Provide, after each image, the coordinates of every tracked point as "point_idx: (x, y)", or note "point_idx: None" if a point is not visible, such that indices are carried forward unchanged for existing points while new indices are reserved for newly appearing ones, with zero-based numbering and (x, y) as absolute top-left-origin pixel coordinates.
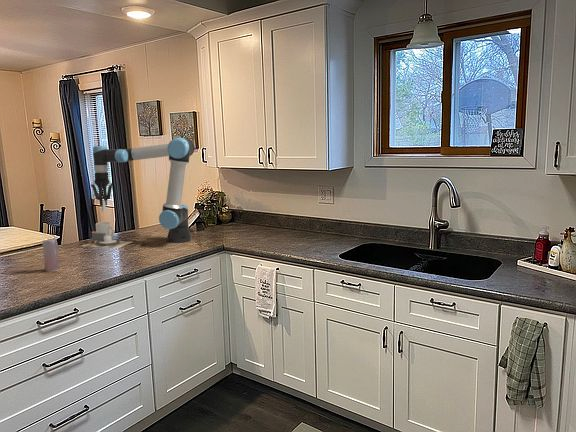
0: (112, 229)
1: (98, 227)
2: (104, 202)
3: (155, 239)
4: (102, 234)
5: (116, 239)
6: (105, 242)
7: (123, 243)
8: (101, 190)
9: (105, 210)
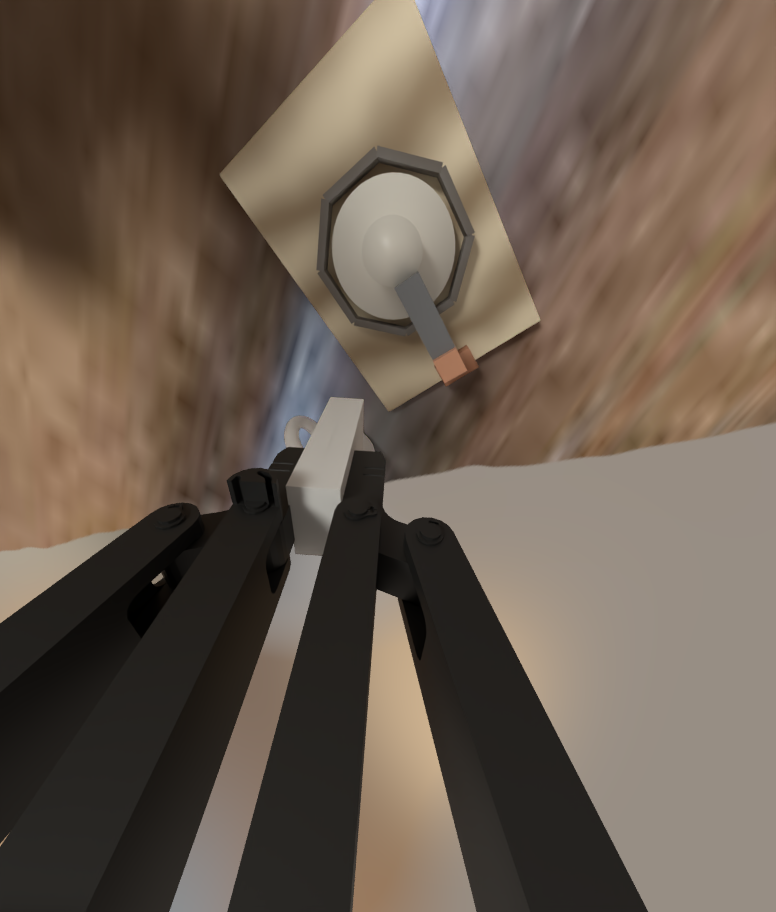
0: (293, 429)
1: None
2: (314, 465)
3: (56, 206)
4: (422, 280)
5: (323, 271)
6: (424, 220)
7: (303, 170)
8: (271, 865)
9: (334, 402)
